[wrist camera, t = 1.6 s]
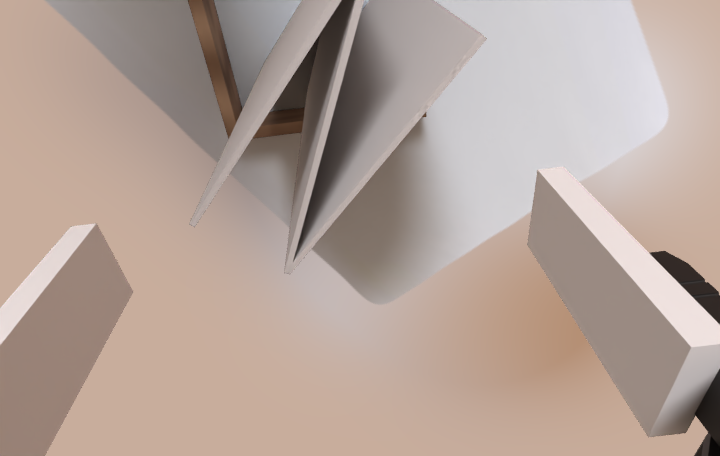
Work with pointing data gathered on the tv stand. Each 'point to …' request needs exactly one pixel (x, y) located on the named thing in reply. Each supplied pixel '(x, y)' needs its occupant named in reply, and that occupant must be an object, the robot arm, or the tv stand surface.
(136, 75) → the tv stand surface
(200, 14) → the rack
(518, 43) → the tv stand surface
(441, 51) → the brochure
